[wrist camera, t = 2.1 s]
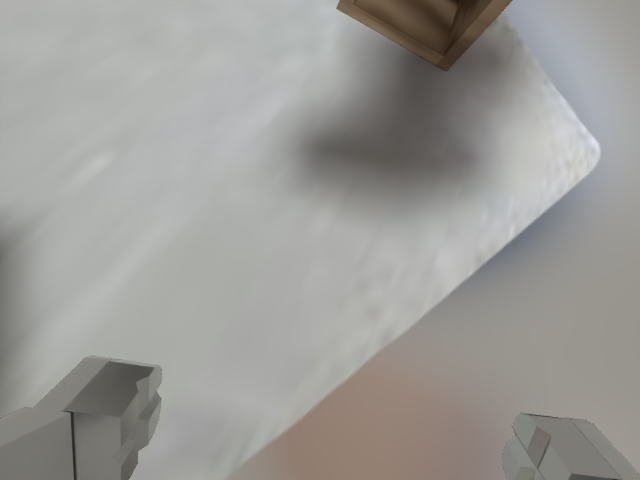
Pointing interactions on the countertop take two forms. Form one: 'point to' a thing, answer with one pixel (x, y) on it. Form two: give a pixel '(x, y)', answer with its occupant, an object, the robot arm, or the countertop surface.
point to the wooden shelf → (427, 23)
